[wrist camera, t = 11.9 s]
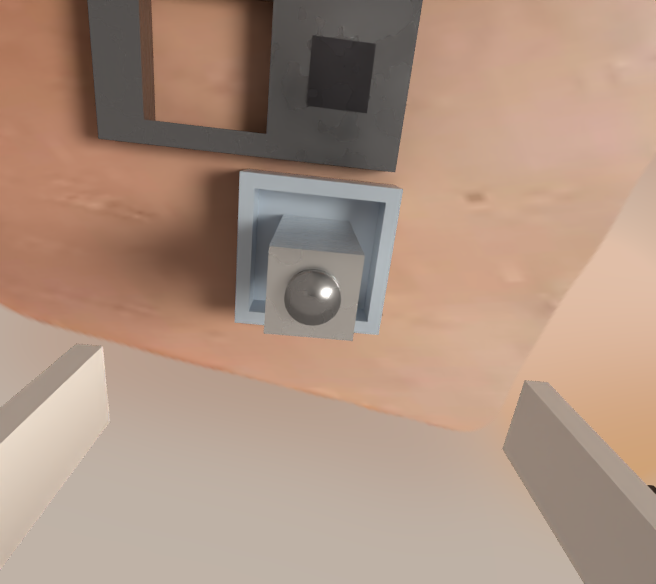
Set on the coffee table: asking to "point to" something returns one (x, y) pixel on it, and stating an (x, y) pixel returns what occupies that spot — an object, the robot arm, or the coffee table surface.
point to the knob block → (313, 278)
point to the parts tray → (317, 202)
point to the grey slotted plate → (276, 82)
